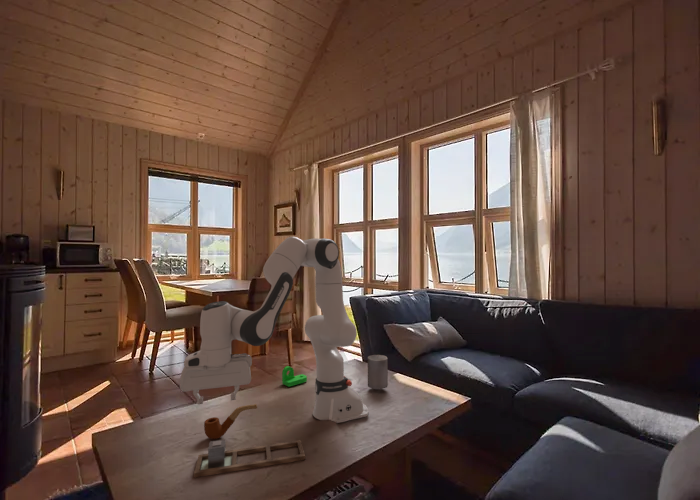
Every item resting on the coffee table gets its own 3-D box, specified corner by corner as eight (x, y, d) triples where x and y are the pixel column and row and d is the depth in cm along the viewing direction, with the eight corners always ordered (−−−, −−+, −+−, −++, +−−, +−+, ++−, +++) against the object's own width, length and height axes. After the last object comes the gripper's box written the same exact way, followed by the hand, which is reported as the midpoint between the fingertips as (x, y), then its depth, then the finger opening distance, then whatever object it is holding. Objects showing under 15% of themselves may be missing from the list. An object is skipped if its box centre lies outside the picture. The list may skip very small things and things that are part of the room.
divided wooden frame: (300, 443, 121) (300, 440, 121) (305, 459, 112) (305, 455, 112) (198, 458, 113) (198, 455, 113) (194, 477, 103) (194, 473, 103)
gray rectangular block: (225, 458, 112) (225, 438, 112) (224, 467, 108) (224, 445, 108) (209, 461, 111) (209, 440, 111) (208, 469, 107) (208, 448, 107)
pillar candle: (368, 382, 180) (368, 351, 180) (388, 382, 179) (388, 352, 179) (366, 389, 170) (366, 357, 170) (387, 390, 169) (387, 357, 169)
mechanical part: (288, 386, 175) (288, 370, 175) (282, 383, 179) (282, 367, 179) (309, 380, 183) (309, 364, 183) (302, 377, 187) (302, 362, 188)
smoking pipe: (209, 446, 122) (207, 439, 127) (261, 419, 130) (258, 414, 135) (202, 426, 121) (201, 420, 127) (255, 400, 129) (252, 396, 134)
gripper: (251, 350, 116) (252, 393, 116) (182, 356, 110) (182, 401, 110) (251, 355, 110) (252, 401, 110) (178, 362, 104) (179, 410, 104)
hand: (217, 401), depth 110 cm, fingers open, 8 cm apart
